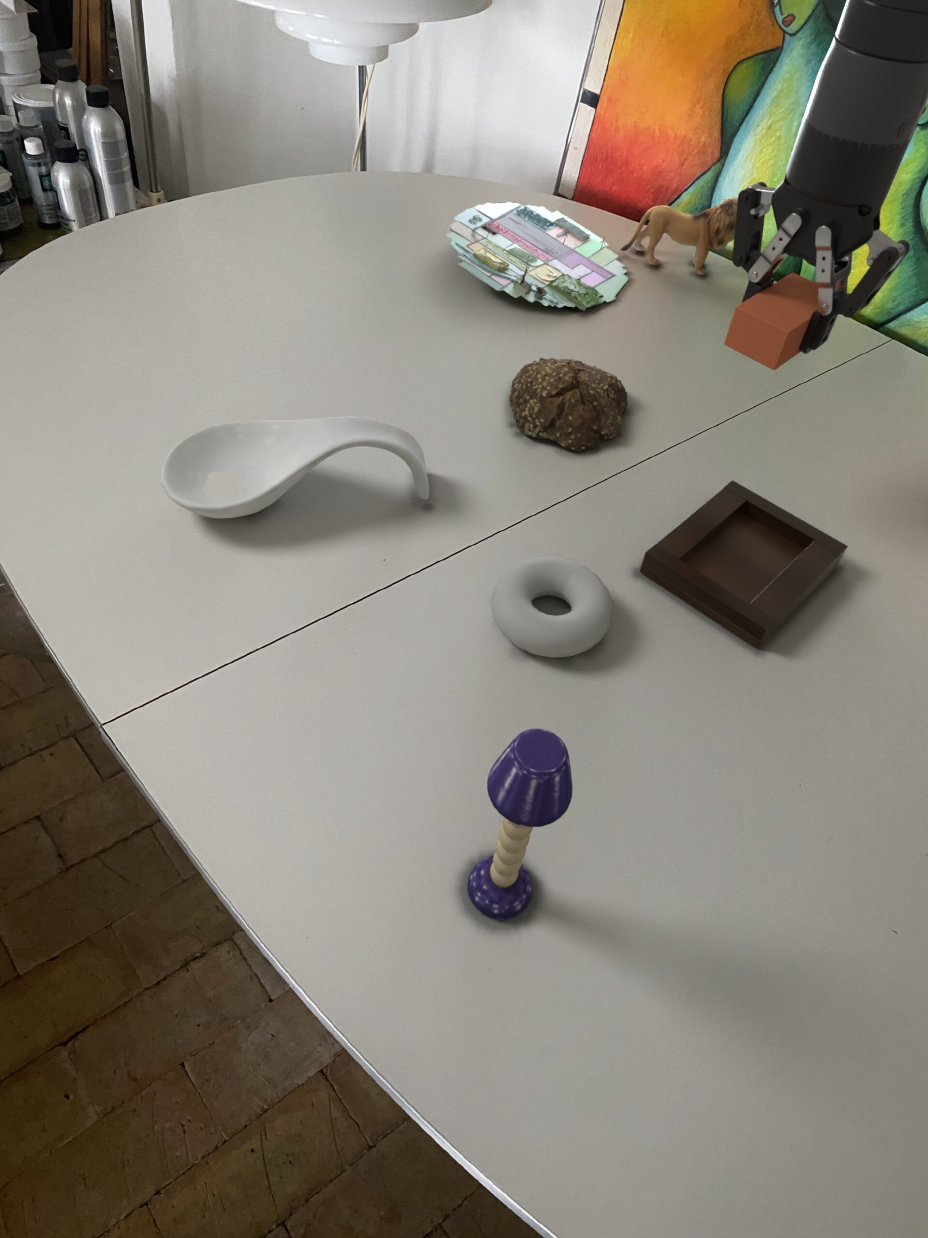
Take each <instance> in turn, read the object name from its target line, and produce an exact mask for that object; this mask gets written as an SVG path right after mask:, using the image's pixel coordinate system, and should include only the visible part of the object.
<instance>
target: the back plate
mask: <svg viewBox="0 0 928 1238" xmlns="http://www.w3.org/2000/svg"><path fill="white" fill-rule="evenodd" d="M847 549H848V545H847V544H845V543H843V542H842V541H840V540H838V539H837V538H835V537H832V536H831V535H829V534H828V533H826V532H824V531H822V530H820V529H819V528H817V527H815V526H813V525H812V524H810V523H808V522H806V521H805V520H803V519H801V518H800V517H798V516H797V515H795V514H793V513H791V512H790V511H787V510H785V509H784V508H782V507H780V506H779V505H777V504H775V503H773V502H771V501H770V500H768V499H766V498H765V497H763V496H761V495H759V494H757V493H756V492H754V491H752V490H751V489H749V488H747V487H745V486H744V485H743V484H740V483H739V482H737V481H735V480H733V479H732V480H730V481H729V482H728V483H727V484H726V485H725V486H723V488H721V489H720V490H719V491H718V492H716V493H715V494H714V495H713V496H711V497H710V498H709V499H708V500H707V501H706V502H704V503H703V504H702V505H701V506H699V507H698V508H696V510H695V511H693V512H692V513H691V514H690V515H689V516H687V517H686V518H685V519H684V520H682V522H680V523H679V524H678V525H677V526H675V527H674V528H673V529H671V530H670V531H669V532H668V533H667V534H666V535H664V536H663V537H662V538H661V539H660V540H658V541H657V542H656V543H654V544H653V545H652V546H650V547H649V548H648V549H647V550H646V551H645V552H644V556H643V559H642V562H641V566H640V569H639V573H641V574H642V575H644V576H645V577H647V578H648V579H649V580H651V581H653V582H654V583H656V584H657V585H658V586H660V587H662V588H663V589H665V590H667V591H668V592H670V593H671V594H673V596H675V597H677V598H679V599H680V600H681V601H683V602H685V603H686V604H688V605H689V606H691V607H692V608H693V609H695V610H697V611H698V612H700V613H702V614H703V615H705V617H707V618H709V619H710V620H712V621H714V622H715V623H716V624H718V625H720V626H721V627H722V628H724V629H726V630H727V631H729V632H730V633H732V634H733V635H735V636H736V637H737V638H740V639H741V640H742V641H744V642H746V643H747V644H749V645H750V646H751V647H753V648H755V650H756V649H759V647H760V646H761V645H762V644H763V643H764V642H765V641H766V640H767V639H768V638H769V637H770V636H772V634H773V633H774V632H775V631H776V630H777V629H778V628H779V627H780V625H782V624H783V622H784V621H785V620H787V618H788V617H789V616H790V615H792V614H793V612H794V611H795V610H796V609H797V608H798V607H799V606H801V604H802V603H803V602H804V601H805V600H806V599H807V598H808V597H809V596H810V595H811V593H813V592H814V591H815V589H816V588H817V587H818V586H819V585H820V584H822V582H823V581H824V580H825V579H826V578H827V577H829V575H830V574H831V573H832V572H833V571H834V570H835V569H836V567H837V566H838V565H839V563H840V561H841V560H842V558H843V556H844V554H845V552H846V551H847Z"/></svg>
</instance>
